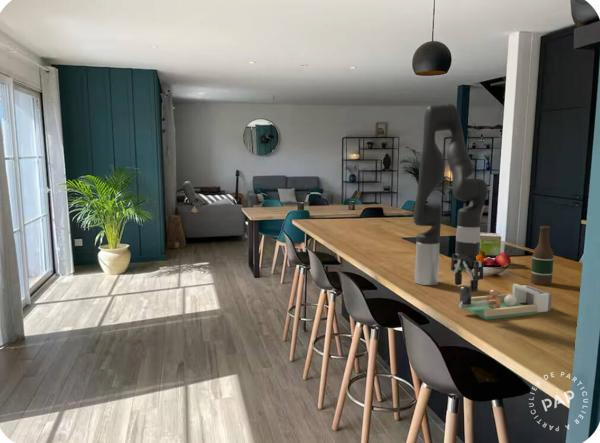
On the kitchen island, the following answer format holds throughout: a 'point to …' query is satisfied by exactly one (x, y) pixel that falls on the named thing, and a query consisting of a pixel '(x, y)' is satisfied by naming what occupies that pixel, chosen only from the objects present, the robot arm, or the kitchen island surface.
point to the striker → (466, 301)
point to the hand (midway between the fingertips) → (465, 287)
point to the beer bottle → (542, 260)
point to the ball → (510, 300)
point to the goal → (532, 297)
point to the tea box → (490, 244)
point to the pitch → (501, 309)
